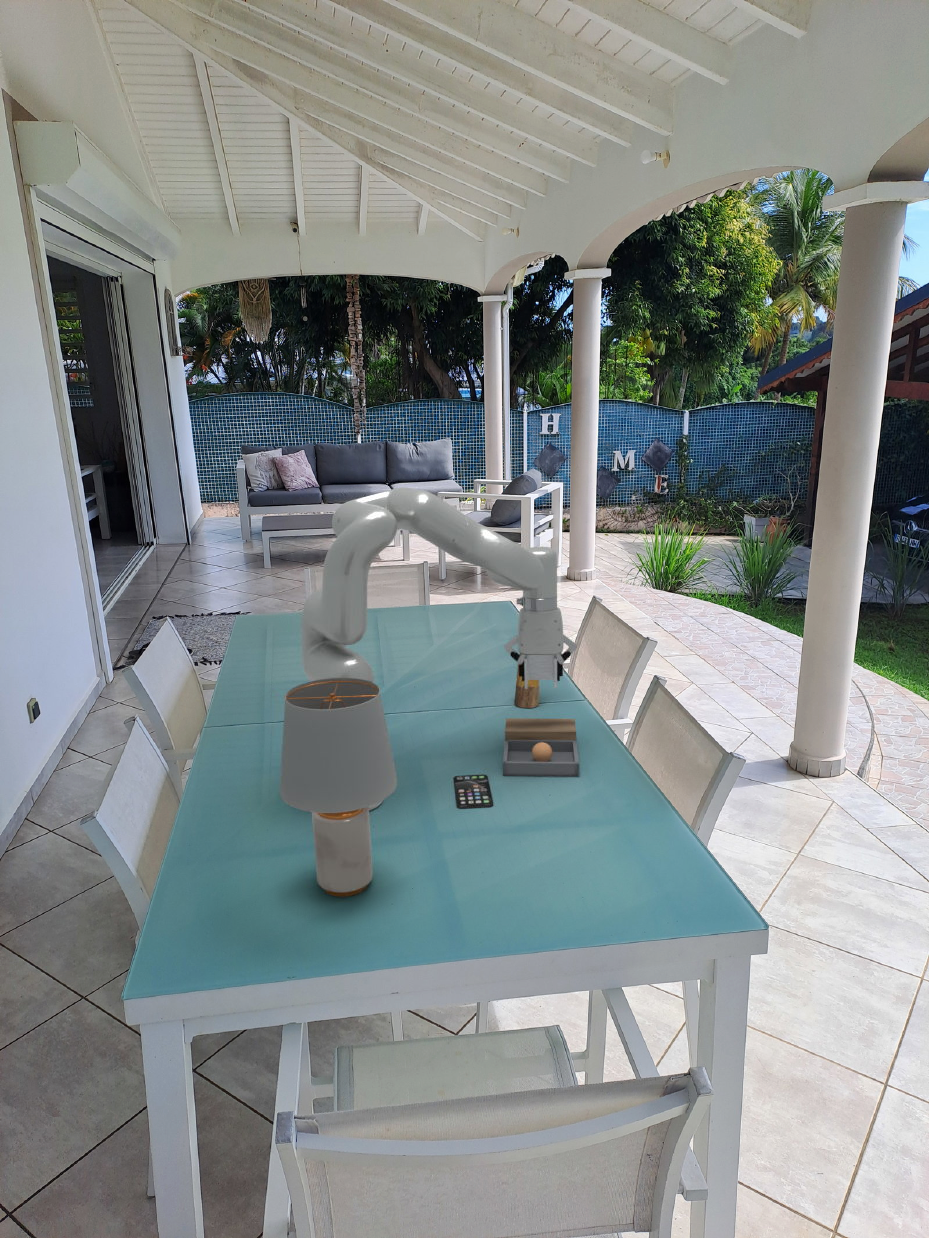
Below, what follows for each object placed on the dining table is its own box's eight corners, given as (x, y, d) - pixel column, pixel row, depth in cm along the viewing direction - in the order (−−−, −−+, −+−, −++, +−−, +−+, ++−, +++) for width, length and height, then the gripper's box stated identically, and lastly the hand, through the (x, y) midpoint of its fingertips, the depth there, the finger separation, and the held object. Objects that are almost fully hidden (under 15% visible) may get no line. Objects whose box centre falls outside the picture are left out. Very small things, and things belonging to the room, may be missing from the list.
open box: (557, 688, 193) (557, 658, 191) (524, 688, 194) (524, 658, 192) (556, 678, 199) (556, 649, 198) (525, 679, 200) (524, 650, 198)
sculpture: (551, 708, 223) (551, 594, 215) (515, 709, 223) (513, 595, 215) (548, 699, 229) (548, 588, 222) (513, 700, 229) (512, 589, 222)
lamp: (403, 851, 155) (395, 671, 146) (399, 913, 137) (389, 712, 128) (297, 856, 155) (282, 675, 146) (279, 918, 136) (261, 716, 128)
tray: (578, 776, 183) (578, 763, 182) (503, 775, 185) (503, 762, 184) (576, 752, 195) (576, 740, 195) (505, 751, 197) (505, 739, 196)
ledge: (576, 752, 195) (576, 731, 194) (505, 751, 197) (504, 731, 195) (574, 738, 203) (574, 718, 202) (506, 738, 204) (506, 718, 203)
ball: (551, 759, 186) (552, 739, 188) (530, 757, 187) (532, 738, 189) (551, 766, 190) (553, 747, 192) (531, 764, 190) (533, 746, 193)
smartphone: (487, 773, 185) (494, 805, 171) (487, 776, 185) (494, 808, 171) (452, 775, 185) (456, 807, 170) (453, 778, 185) (456, 810, 171)
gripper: (500, 608, 188) (501, 685, 193) (580, 607, 187) (580, 684, 192) (501, 599, 196) (503, 674, 200) (578, 598, 194) (578, 673, 199)
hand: (540, 678), depth 196 cm, fingers closed on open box, 7 cm apart
